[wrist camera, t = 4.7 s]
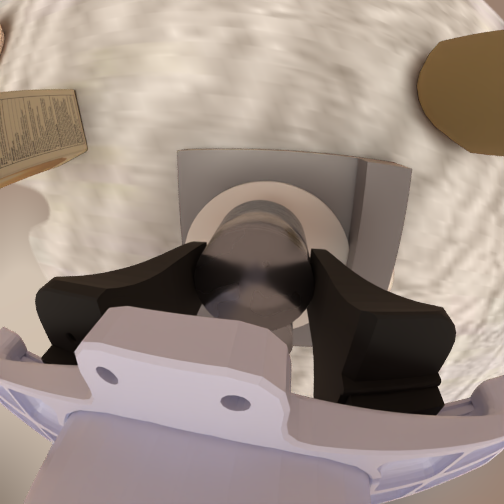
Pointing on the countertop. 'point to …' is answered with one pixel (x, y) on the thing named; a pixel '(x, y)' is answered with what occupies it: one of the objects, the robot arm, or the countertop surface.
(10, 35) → the countertop surface
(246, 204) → the cylinder
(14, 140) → the skincare box
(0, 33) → the lidded jar
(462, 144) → the squeeze bottle
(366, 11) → the countertop surface
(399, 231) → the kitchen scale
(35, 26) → the countertop surface
